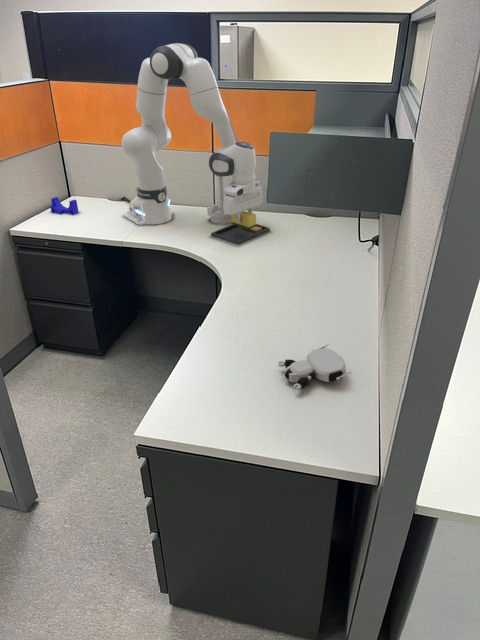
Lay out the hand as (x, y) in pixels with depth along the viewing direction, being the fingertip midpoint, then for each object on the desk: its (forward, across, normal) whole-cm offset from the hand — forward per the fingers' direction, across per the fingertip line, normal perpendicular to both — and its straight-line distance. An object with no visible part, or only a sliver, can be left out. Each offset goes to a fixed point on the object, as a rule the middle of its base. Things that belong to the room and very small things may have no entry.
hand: (243, 220), depth 202 cm
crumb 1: (+5, -4, -2) cm, 7 cm away
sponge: (+2, 0, 0) cm, 2 cm away
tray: (+5, +2, 0) cm, 6 cm away
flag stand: (+6, -5, -16) cm, 18 cm away
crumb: (+5, -4, +3) cm, 7 cm away
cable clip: (+7, +34, -80) cm, 87 cm away
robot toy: (+5, +61, +76) cm, 98 cm away
